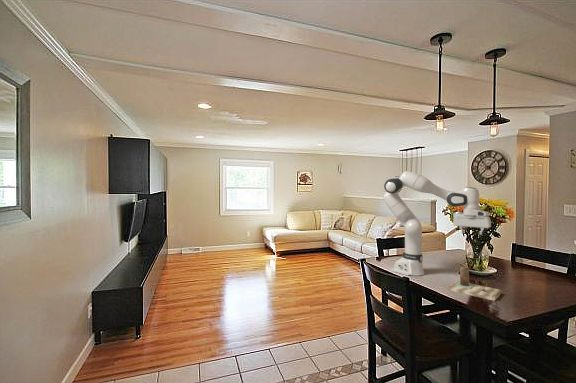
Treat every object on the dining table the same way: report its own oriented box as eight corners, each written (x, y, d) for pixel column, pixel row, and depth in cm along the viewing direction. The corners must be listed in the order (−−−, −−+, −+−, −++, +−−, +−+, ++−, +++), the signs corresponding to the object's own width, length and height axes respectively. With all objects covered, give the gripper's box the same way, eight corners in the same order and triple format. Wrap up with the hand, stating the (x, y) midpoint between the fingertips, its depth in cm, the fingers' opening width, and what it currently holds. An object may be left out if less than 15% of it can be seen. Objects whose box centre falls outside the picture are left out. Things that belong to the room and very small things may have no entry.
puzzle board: (449, 290, 165) (449, 285, 165) (457, 284, 174) (457, 280, 174) (494, 300, 148) (494, 296, 148) (500, 294, 158) (500, 289, 158)
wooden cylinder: (459, 284, 165) (459, 268, 165) (461, 283, 168) (461, 266, 168) (467, 286, 162) (467, 269, 162) (470, 284, 165) (469, 268, 165)
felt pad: (454, 285, 165) (454, 284, 165) (459, 282, 171) (459, 281, 171) (470, 289, 159) (470, 288, 159) (474, 285, 165) (474, 284, 165)
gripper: (451, 211, 183) (451, 232, 183) (488, 213, 168) (489, 236, 168) (454, 211, 187) (455, 231, 187) (491, 212, 172) (491, 235, 172)
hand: (471, 233), depth 178 cm, fingers open, 8 cm apart
